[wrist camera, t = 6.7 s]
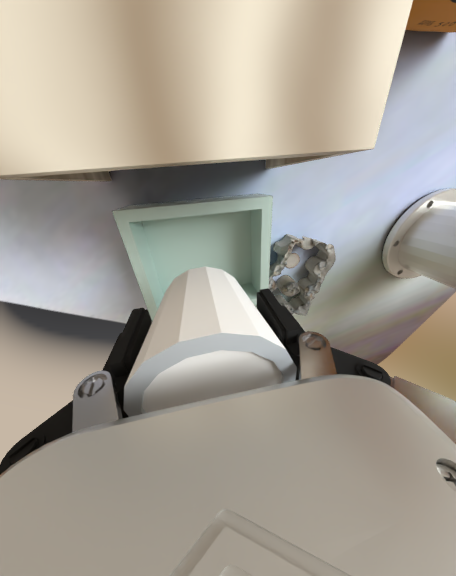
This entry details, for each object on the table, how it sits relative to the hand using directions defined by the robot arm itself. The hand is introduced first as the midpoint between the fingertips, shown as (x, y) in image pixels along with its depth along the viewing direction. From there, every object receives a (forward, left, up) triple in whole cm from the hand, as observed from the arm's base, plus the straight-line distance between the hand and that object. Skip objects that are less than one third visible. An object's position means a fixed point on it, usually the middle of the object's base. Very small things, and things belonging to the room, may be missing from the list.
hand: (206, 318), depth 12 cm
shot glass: (0, 0, -2) cm, 2 cm away
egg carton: (-12, +4, -14) cm, 19 cm away
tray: (0, 0, -13) cm, 13 cm away
